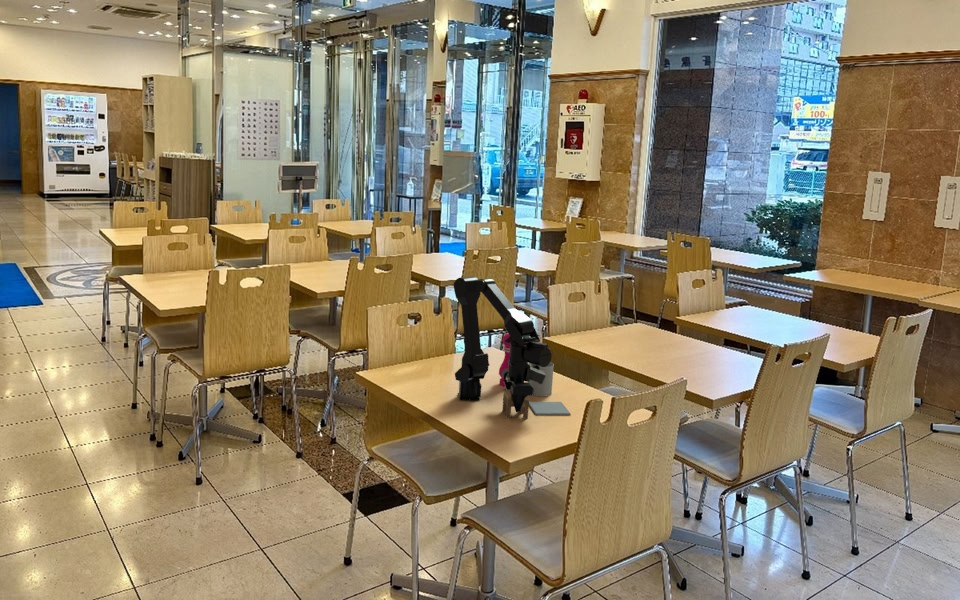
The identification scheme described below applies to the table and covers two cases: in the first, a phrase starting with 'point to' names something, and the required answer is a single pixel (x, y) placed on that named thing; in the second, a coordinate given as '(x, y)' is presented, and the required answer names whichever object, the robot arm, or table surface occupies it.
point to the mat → (549, 408)
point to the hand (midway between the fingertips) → (515, 408)
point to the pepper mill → (505, 358)
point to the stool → (509, 403)
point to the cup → (546, 387)
